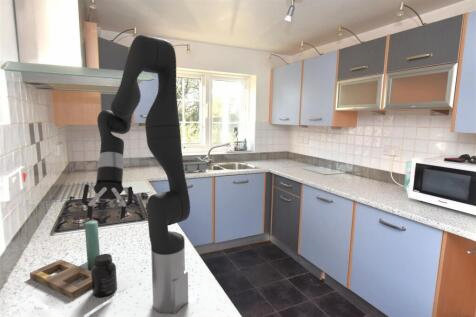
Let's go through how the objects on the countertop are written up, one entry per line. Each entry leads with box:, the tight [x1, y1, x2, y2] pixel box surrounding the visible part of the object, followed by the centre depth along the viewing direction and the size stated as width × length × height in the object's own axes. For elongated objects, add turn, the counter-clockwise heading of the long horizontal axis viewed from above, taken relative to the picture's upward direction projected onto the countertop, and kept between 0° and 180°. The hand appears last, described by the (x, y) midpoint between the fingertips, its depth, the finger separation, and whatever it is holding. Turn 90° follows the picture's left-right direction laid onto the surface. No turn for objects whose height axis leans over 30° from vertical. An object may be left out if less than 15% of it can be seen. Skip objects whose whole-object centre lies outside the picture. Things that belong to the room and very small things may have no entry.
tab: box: [78, 261, 92, 271], centre depth 101 cm, size 9×9×1 cm
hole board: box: [29, 258, 92, 300], centre depth 92 cm, size 22×10×3 cm, turn 63°
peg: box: [84, 220, 101, 269], centre depth 100 cm, size 4×4×16 cm
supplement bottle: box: [91, 253, 118, 299], centre depth 86 cm, size 7×7×12 cm
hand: (106, 219), depth 86 cm, fingers open, 8 cm apart
